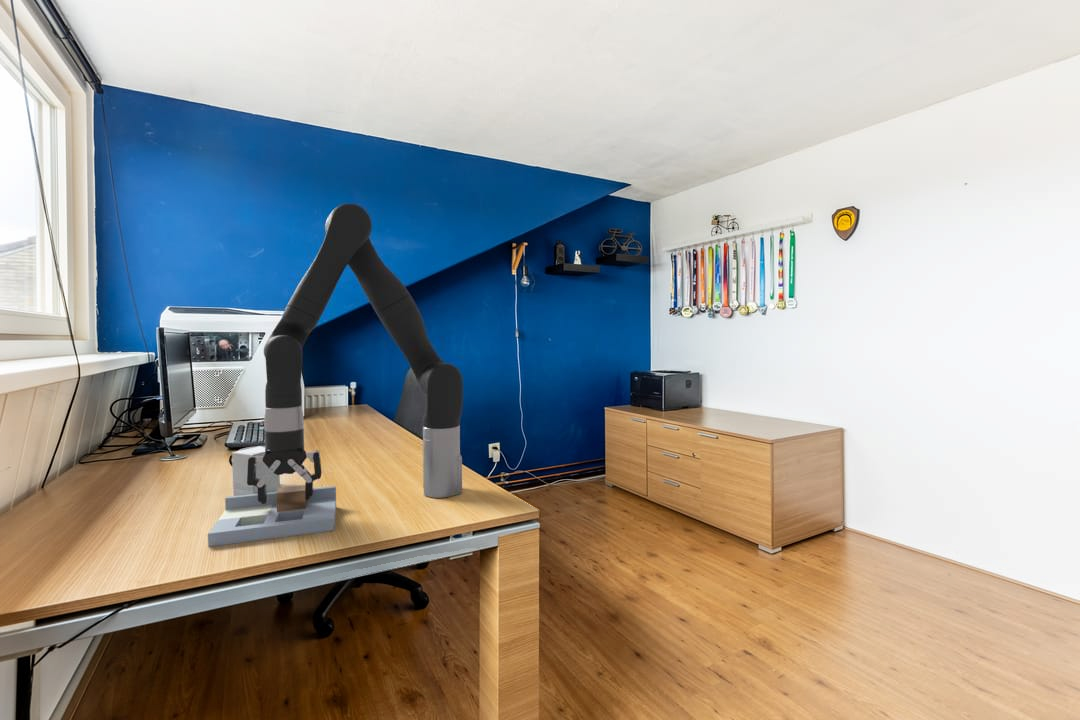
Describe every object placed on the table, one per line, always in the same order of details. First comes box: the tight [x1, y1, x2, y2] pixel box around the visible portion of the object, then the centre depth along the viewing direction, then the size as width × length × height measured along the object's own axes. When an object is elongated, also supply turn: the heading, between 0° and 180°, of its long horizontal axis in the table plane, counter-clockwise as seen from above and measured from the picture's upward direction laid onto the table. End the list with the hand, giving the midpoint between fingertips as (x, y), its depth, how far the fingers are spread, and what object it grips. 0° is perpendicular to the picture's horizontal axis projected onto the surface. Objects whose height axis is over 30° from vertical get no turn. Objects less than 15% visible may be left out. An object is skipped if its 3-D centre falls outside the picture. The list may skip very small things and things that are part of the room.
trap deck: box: [207, 485, 337, 547], centre depth 104 cm, size 22×15×5 cm
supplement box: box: [231, 445, 281, 496], centre depth 119 cm, size 7×7×13 cm
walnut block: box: [276, 484, 307, 512], centre depth 108 cm, size 6×4×4 cm
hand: (286, 500), depth 107 cm, fingers open, 8 cm apart
